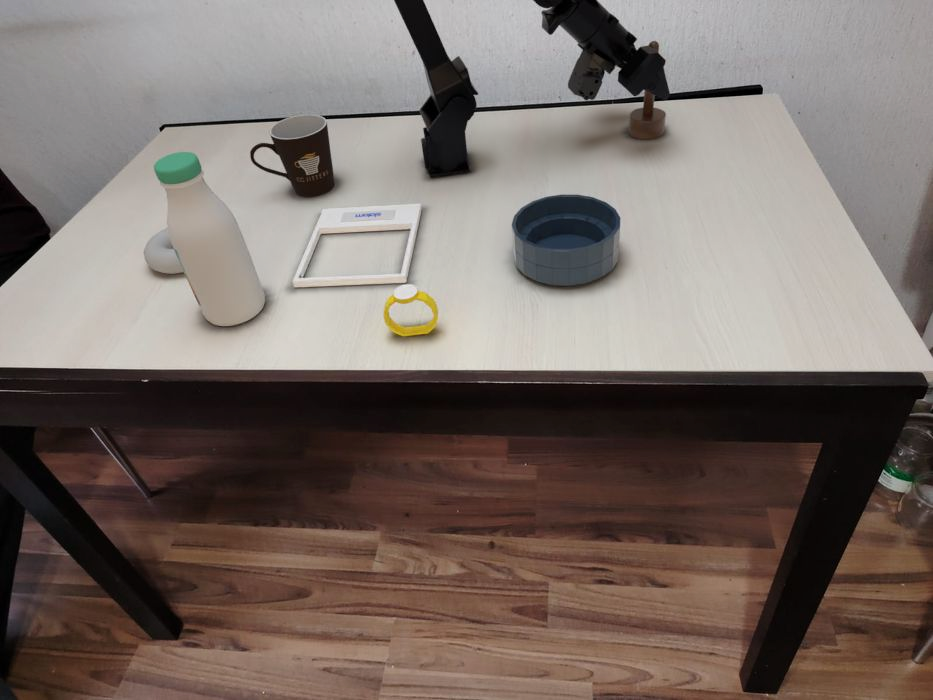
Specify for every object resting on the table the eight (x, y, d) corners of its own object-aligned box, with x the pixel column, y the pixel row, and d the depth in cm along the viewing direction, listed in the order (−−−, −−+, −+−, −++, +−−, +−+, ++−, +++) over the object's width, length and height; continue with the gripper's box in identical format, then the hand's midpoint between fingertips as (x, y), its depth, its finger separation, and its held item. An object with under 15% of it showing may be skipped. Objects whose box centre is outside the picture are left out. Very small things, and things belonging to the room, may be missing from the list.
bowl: (601, 225, 90) (603, 188, 86) (631, 280, 80) (634, 241, 76) (506, 239, 89) (504, 202, 86) (524, 296, 80) (522, 258, 76)
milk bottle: (279, 296, 85) (226, 147, 71) (240, 333, 80) (176, 181, 66) (232, 285, 88) (173, 140, 74) (191, 320, 83) (121, 172, 69)
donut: (194, 283, 89) (235, 241, 96) (183, 262, 87) (227, 220, 93) (134, 274, 92) (179, 234, 99) (123, 254, 90) (169, 214, 96)
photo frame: (420, 202, 97) (404, 275, 83) (421, 209, 97) (406, 282, 84) (322, 207, 98) (291, 280, 85) (324, 214, 99) (294, 287, 86)
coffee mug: (347, 173, 109) (333, 113, 102) (334, 199, 102) (318, 137, 96) (279, 176, 110) (260, 117, 104) (262, 202, 104) (241, 141, 97)
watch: (441, 322, 78) (434, 281, 74) (440, 338, 76) (433, 296, 72) (390, 326, 78) (380, 285, 74) (388, 342, 76) (378, 300, 72)
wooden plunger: (657, 122, 111) (665, 33, 102) (668, 136, 107) (679, 44, 98) (624, 127, 111) (630, 38, 102) (634, 141, 107) (641, 49, 98)
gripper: (536, 52, 107) (599, 107, 116) (573, 93, 94) (642, 152, 102) (583, -10, 103) (645, 52, 111) (630, 24, 89) (697, 92, 97)
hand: (655, 87), depth 106 cm, fingers open, 8 cm apart
